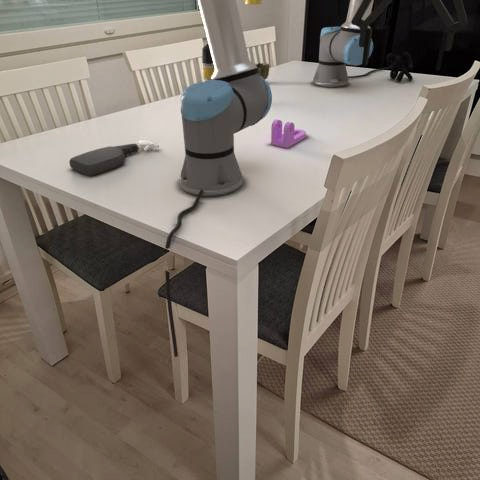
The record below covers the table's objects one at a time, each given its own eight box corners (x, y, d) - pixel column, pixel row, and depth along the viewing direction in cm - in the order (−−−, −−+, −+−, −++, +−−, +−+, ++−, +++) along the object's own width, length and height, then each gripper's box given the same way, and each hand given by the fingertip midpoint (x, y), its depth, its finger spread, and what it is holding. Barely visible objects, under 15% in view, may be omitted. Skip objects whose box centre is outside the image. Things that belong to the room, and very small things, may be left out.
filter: (220, 99, 177) (217, 15, 161) (206, 100, 176) (202, 16, 160) (215, 96, 182) (212, 14, 166) (202, 97, 180) (197, 14, 164)
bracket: (287, 148, 130) (288, 124, 126) (271, 144, 133) (271, 121, 129) (309, 135, 139) (310, 113, 135) (293, 132, 142) (294, 110, 138)
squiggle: (400, 92, 202) (376, 71, 205) (417, 76, 202) (392, 56, 205) (405, 81, 191) (380, 59, 194) (423, 64, 191) (397, 42, 194)
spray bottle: (67, 168, 120) (139, 144, 136) (91, 178, 114) (163, 151, 130) (65, 157, 118) (137, 134, 134) (89, 167, 112) (162, 142, 128)
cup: (250, 84, 198) (249, 65, 194) (257, 80, 204) (257, 62, 200) (265, 85, 195) (265, 66, 191) (272, 82, 201) (272, 63, 197)
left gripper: (503, -68, 74) (470, 67, 85) (352, -62, 82) (340, 59, 94) (506, -70, 68) (471, 75, 79) (343, -64, 77) (332, 66, 88)
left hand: (400, 67), depth 86 cm, fingers open, 13 cm apart
